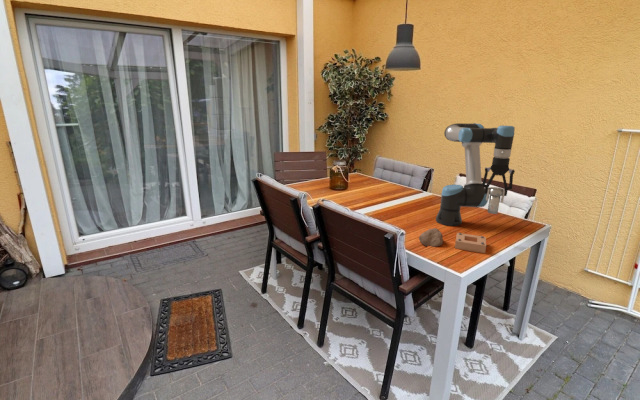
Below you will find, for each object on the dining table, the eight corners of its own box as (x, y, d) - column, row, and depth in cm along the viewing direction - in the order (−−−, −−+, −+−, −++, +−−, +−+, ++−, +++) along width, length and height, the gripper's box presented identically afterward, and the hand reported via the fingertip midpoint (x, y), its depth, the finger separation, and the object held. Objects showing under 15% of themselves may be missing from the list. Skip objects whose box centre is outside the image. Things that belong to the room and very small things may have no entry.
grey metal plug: (485, 213, 173) (489, 189, 170) (485, 209, 179) (489, 186, 175) (499, 215, 171) (503, 190, 167) (499, 211, 176) (503, 187, 172)
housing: (454, 249, 169) (455, 239, 167) (455, 241, 179) (457, 231, 178) (484, 255, 163) (486, 244, 162) (484, 245, 174) (485, 235, 172)
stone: (442, 245, 179) (436, 227, 181) (449, 243, 170) (444, 225, 172) (420, 250, 177) (415, 232, 180) (427, 248, 168) (421, 229, 171)
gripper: (480, 156, 167) (474, 200, 174) (524, 159, 159) (516, 205, 166) (480, 154, 173) (474, 196, 180) (522, 157, 166) (514, 201, 172)
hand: (494, 200), depth 173 cm, fingers closed on grey metal plug, 6 cm apart
